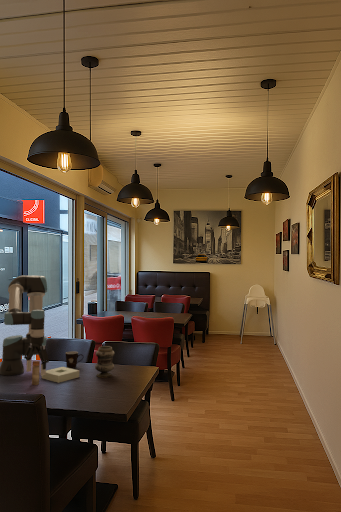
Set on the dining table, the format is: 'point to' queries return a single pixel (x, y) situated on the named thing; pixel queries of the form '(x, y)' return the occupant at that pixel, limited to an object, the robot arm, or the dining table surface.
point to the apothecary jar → (104, 361)
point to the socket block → (61, 374)
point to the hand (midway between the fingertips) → (35, 373)
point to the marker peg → (35, 372)
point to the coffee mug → (72, 359)
